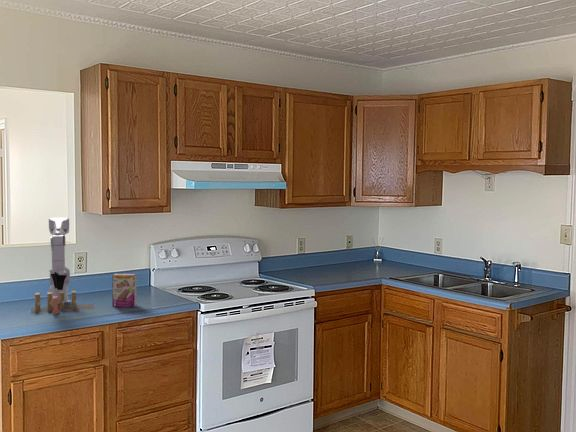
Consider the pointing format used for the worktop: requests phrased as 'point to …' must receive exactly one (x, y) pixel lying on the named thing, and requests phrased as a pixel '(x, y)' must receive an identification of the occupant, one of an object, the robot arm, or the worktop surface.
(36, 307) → the maple tile
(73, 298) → the maple tile
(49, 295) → the maple tile
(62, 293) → the maple tile
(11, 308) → the worktop surface
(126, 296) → the candy bar box
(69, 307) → the domino mat
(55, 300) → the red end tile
